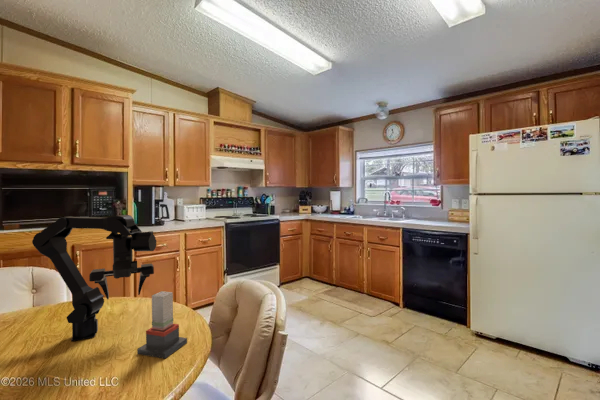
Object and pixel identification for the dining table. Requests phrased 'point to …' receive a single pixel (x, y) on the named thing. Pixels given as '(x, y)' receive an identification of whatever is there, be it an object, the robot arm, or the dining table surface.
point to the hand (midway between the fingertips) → (123, 296)
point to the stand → (162, 342)
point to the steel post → (162, 311)
